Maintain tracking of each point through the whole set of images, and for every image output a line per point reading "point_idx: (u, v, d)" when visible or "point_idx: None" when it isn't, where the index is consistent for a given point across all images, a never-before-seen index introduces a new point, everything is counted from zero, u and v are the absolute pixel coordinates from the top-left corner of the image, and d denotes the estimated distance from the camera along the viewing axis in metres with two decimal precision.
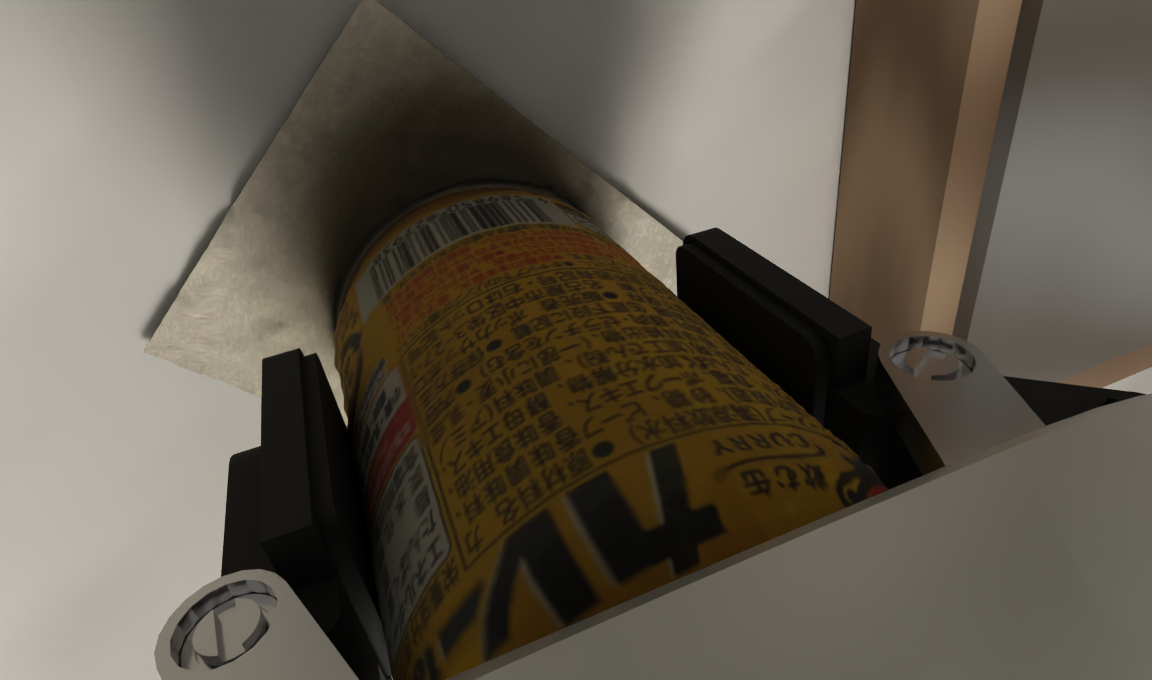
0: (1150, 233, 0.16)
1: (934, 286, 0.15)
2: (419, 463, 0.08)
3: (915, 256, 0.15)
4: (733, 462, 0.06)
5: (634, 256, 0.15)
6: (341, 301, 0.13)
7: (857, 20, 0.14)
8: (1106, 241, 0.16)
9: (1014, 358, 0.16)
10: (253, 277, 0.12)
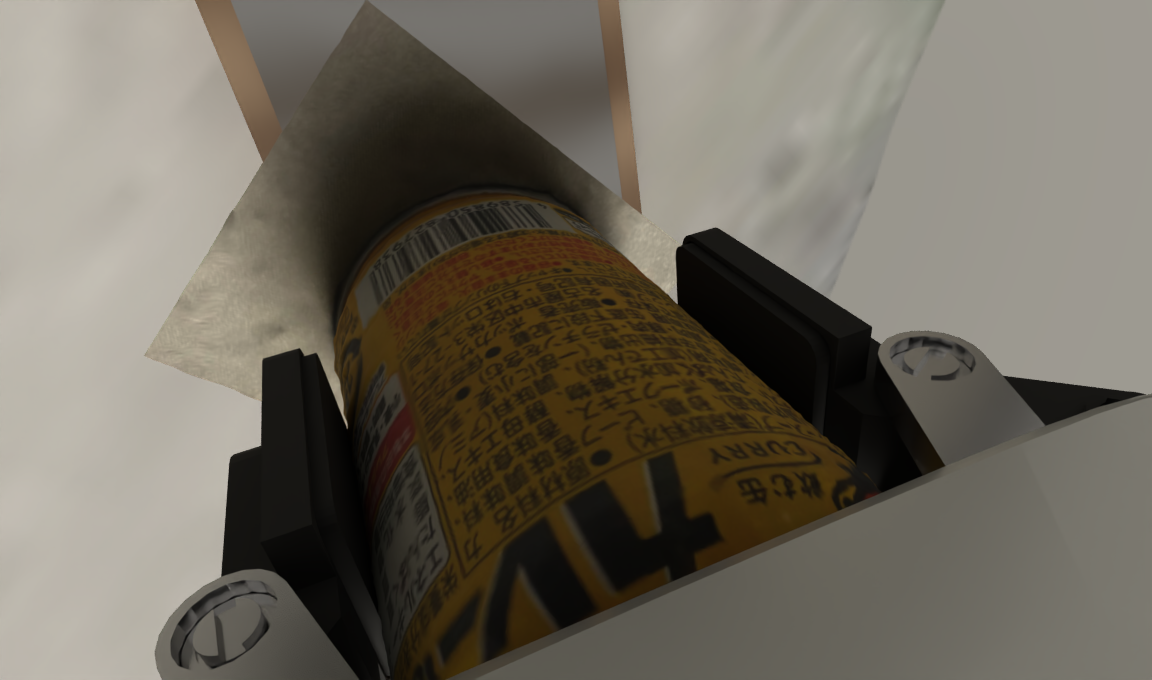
0: None
1: None
2: (418, 470, 0.08)
3: None
4: (729, 471, 0.06)
5: (633, 260, 0.15)
6: (341, 306, 0.13)
7: None
8: None
9: None
10: (253, 282, 0.12)
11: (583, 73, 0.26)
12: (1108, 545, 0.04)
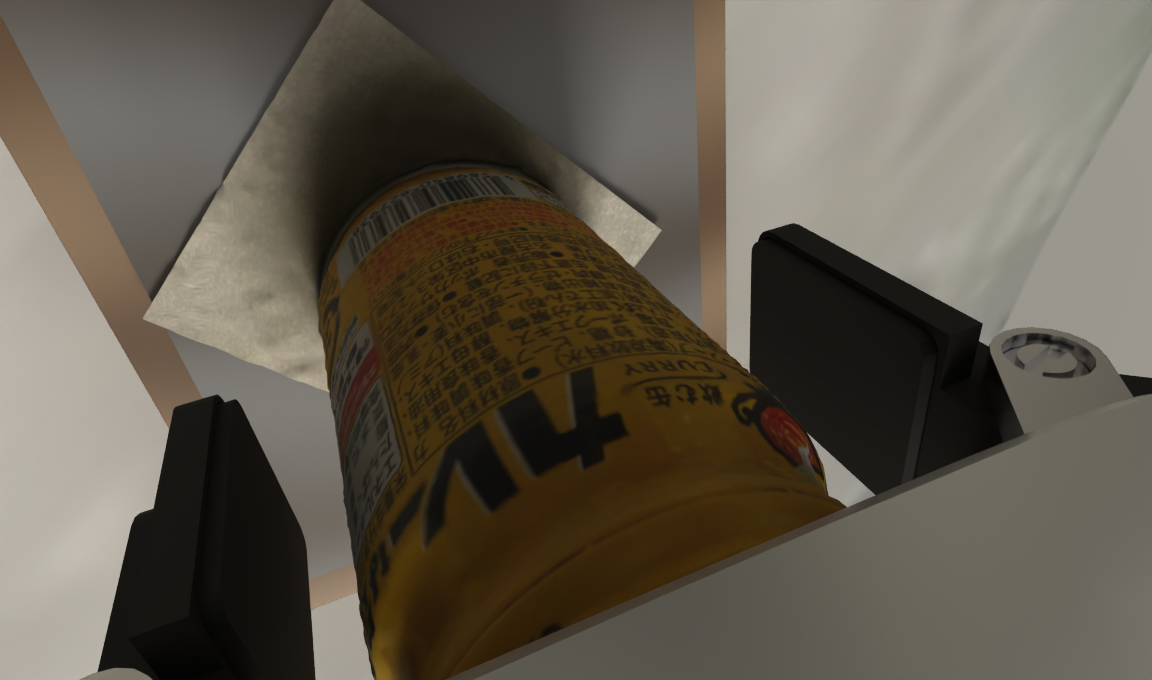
0: None
1: None
2: (381, 397, 0.09)
3: None
4: (639, 381, 0.07)
5: (601, 233, 0.16)
6: (325, 273, 0.14)
7: None
8: None
9: None
10: (242, 250, 0.13)
11: (664, 215, 0.17)
12: (1108, 544, 0.04)
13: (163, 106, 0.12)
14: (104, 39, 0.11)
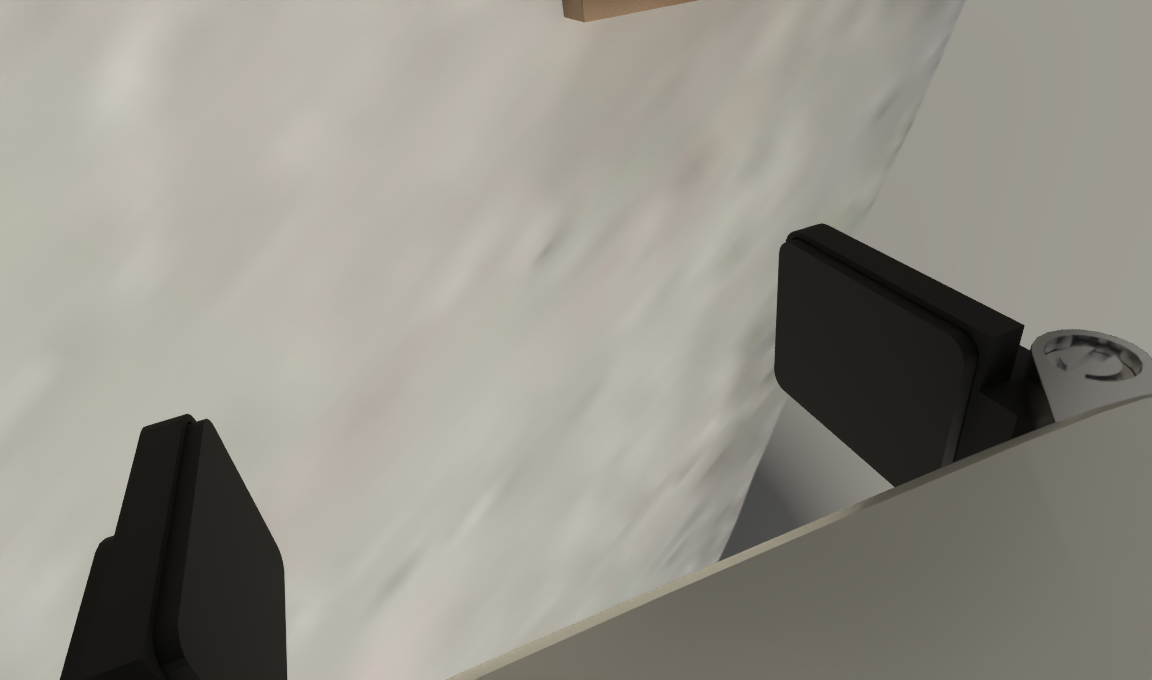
0: None
1: None
2: None
3: None
4: None
5: None
6: None
7: None
8: None
9: None
10: None
11: None
12: (1108, 545, 0.04)
13: None
14: None
